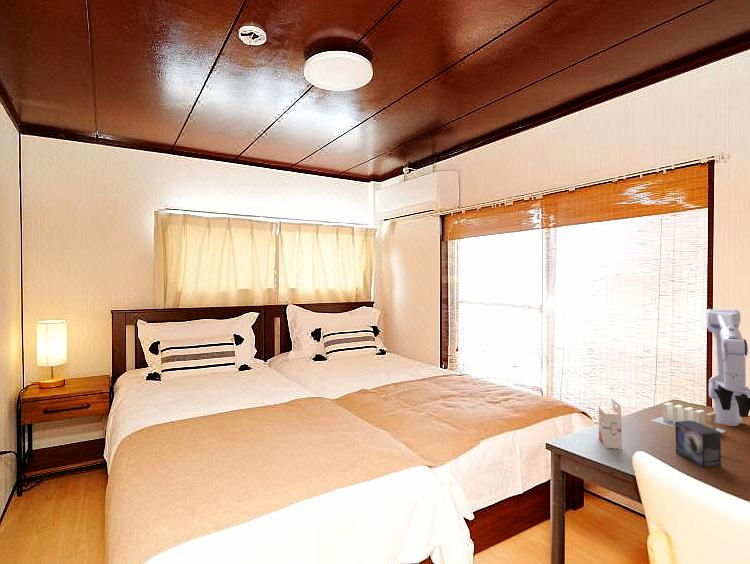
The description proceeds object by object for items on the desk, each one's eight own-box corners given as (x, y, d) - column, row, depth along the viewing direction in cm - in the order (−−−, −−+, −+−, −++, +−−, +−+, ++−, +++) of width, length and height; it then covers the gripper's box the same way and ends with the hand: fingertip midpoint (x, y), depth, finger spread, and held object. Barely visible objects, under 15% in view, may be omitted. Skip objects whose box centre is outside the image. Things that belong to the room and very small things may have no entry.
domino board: (666, 417, 169) (666, 415, 169) (726, 432, 151) (726, 430, 151) (649, 422, 163) (649, 420, 163) (711, 439, 145) (711, 437, 145)
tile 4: (678, 421, 161) (678, 404, 161) (683, 422, 160) (683, 405, 160) (672, 423, 159) (672, 406, 159) (677, 424, 158) (677, 407, 158)
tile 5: (668, 418, 164) (668, 402, 164) (672, 419, 163) (672, 403, 163) (662, 420, 162) (662, 404, 162) (667, 422, 161) (666, 405, 161)
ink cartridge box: (597, 438, 148) (597, 397, 147) (613, 439, 147) (612, 397, 146) (606, 448, 139) (605, 404, 139) (622, 449, 138) (622, 405, 138)
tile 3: (689, 424, 158) (689, 407, 158) (693, 425, 157) (693, 408, 157) (683, 426, 156) (683, 409, 156) (687, 427, 155) (687, 410, 155)
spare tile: (711, 429, 152) (711, 412, 152) (716, 431, 151) (716, 413, 151) (705, 432, 150) (705, 414, 150) (710, 433, 149) (710, 415, 149)
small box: (673, 453, 135) (673, 420, 135) (692, 452, 136) (692, 419, 135) (702, 468, 124) (701, 432, 124) (722, 466, 125) (722, 431, 125)
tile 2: (700, 426, 155) (699, 409, 155) (704, 428, 154) (704, 410, 154) (694, 429, 153) (694, 411, 153) (698, 430, 152) (698, 412, 152)
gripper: (765, 378, 137) (765, 420, 137) (729, 369, 151) (729, 406, 151) (742, 378, 137) (743, 420, 137) (709, 369, 151) (709, 406, 152)
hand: (734, 413), depth 144 cm, fingers open, 7 cm apart
